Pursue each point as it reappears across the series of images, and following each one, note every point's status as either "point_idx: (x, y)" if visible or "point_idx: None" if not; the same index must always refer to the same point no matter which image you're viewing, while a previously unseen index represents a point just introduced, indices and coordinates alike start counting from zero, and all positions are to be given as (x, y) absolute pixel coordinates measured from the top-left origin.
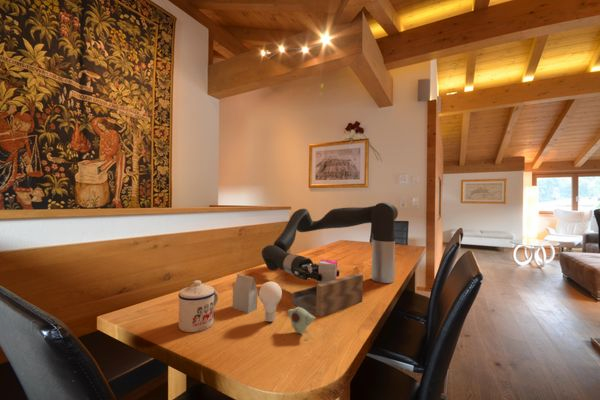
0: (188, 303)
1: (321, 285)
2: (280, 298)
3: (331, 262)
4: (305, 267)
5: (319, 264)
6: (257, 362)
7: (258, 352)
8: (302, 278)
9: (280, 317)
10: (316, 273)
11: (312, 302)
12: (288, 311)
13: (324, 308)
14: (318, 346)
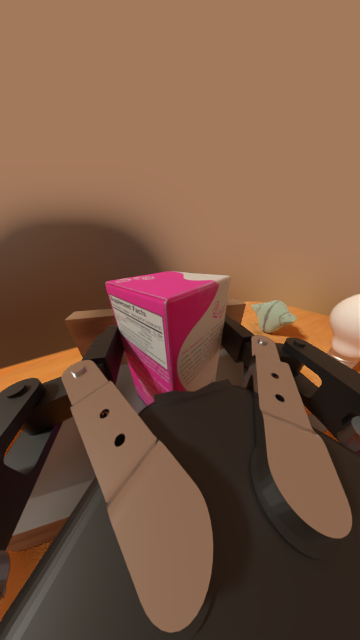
0: None
1: (235, 300)
2: (329, 317)
3: (163, 275)
4: (351, 500)
5: (227, 283)
6: (304, 317)
7: (310, 324)
8: (302, 378)
9: (314, 374)
10: (234, 321)
11: (236, 370)
12: (295, 317)
13: None
14: (245, 316)
